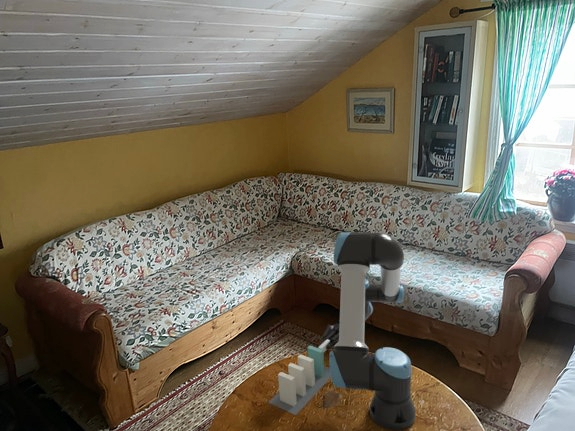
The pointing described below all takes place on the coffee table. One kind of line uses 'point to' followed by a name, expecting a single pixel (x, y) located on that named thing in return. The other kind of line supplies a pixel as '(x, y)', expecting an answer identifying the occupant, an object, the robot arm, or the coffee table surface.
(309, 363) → the ivory domino
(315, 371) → the teal domino
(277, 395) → the slate runway
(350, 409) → the coffee table surface
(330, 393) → the shard
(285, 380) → the ivory domino
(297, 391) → the ivory domino
